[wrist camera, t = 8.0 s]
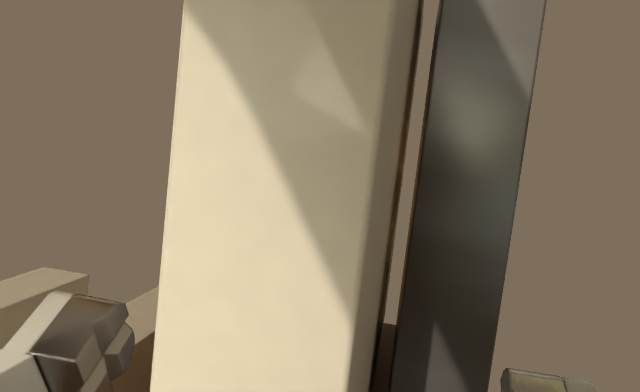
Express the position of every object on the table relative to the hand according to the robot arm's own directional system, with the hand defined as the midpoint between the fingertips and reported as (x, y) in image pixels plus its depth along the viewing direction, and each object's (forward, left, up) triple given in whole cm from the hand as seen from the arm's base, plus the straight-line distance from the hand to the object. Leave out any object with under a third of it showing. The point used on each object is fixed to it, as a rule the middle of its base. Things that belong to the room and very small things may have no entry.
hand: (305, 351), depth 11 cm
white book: (0, +5, -3) cm, 6 cm away
